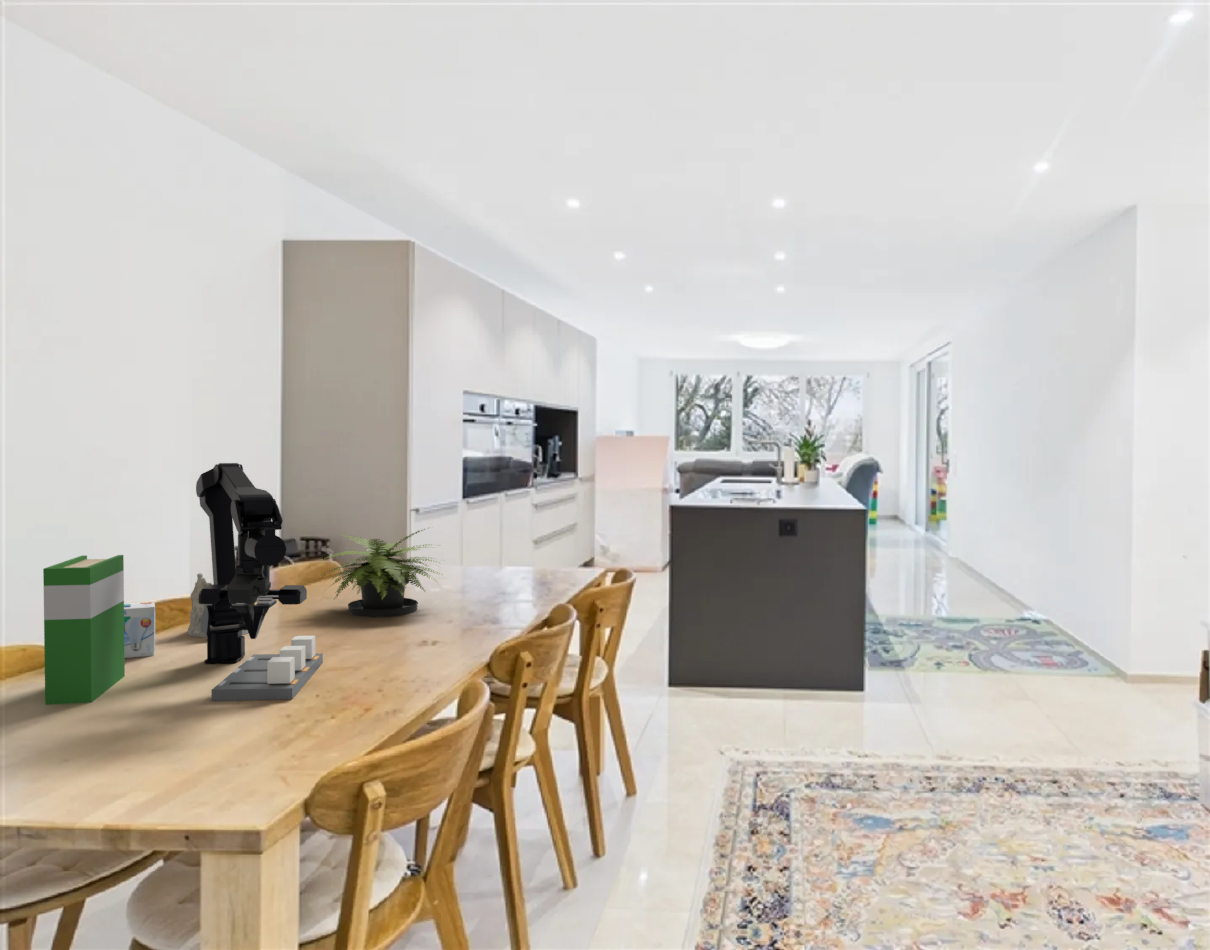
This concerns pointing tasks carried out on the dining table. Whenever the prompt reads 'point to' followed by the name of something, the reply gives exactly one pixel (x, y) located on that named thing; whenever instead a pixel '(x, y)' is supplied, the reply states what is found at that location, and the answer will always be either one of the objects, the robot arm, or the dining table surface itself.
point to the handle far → (307, 642)
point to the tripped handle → (280, 670)
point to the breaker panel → (262, 680)
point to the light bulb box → (139, 629)
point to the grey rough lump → (199, 609)
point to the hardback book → (83, 628)
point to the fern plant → (382, 579)
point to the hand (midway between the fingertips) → (253, 638)
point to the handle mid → (295, 655)
